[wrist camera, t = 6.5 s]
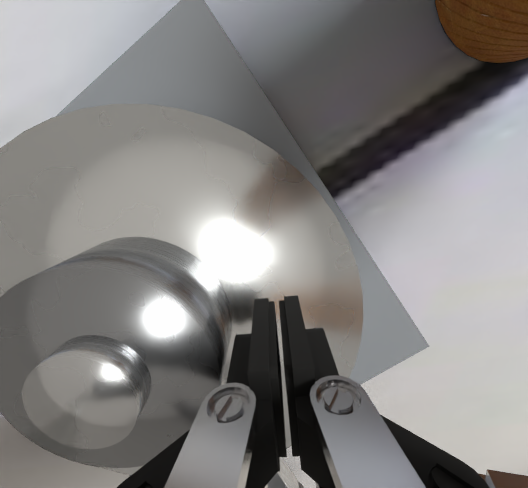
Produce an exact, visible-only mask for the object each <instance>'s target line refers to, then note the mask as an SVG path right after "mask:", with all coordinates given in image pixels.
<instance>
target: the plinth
mask: <svg viewBox="0 0 528 488" xmlns="http://www.w3.org/2000/svg"><path fill="white" fill-rule="evenodd" d="M110 104H151V105H158V106H165V107H172V108H179V109H184V110H187V111H191V112H194V113H198V114H201V115H204V116H208V117H211V118H214V119H217V120H219V121H221V122H224V123H226V124H228V125H230V126H233V127H235V128H237V129H239V130H242V131H244V132H246V133H247V134H249V135H251V136H252V137H254V138H255V139H257V140H259V141H260V142H262V143H264V144H265V145H267V146H269V147H270V148H272V149H273V150H274V151H276V152H277V153H278V154H279V155H281V156H282V157H283V158H284V159H285V160H287V161H288V162H289V163H290V164H292V165H293V166H294V167H295V168H297V169H298V170H299V171H300V172H301V174H302V175H303V176H304V177H305V178H306V179H307V180H308V181H309V182H310V183H311V184H312V185H313V186H314V188H315V189H316V190H317V191H318V192H319V193H320V195H321V196H322V197H323V199H324V200H325V202H326V203H327V204H328V206H329V207H330V209H331V210H332V212H333V213H334V214H335V216H336V218H337V220H338V221H339V223H340V225H341V227H342V229H343V231H344V233H345V235H346V237H347V239H348V241H349V244H350V246H351V249H352V252H353V255H354V258H355V261H356V264H357V267H358V272H359V277H360V282H361V288H362V294H363V326H362V335H361V343H360V346H359V350H358V354H357V358H356V362H355V365H354V367H353V369H352V372H351V374H350V377H349V378H350V379H352V380H354V381H355V382H357V383H358V384H362V383H364V382H366V381H368V380H369V379H371V378H373V377H375V376H377V375H378V374H380V373H382V372H384V371H386V370H387V369H389V368H391V367H393V366H395V365H396V364H398V363H400V362H402V361H404V360H405V359H407V358H409V357H411V356H413V355H414V354H416V353H418V352H420V351H422V350H423V349H425V348H427V347H429V345H428V343H427V342H426V340H425V339H424V337H423V336H422V334H421V333H420V331H419V330H418V328H417V326H416V325H415V323H414V322H413V320H412V319H411V317H410V316H409V314H408V313H407V311H406V310H405V308H404V307H403V305H402V303H401V302H400V300H399V299H398V297H397V296H396V294H395V293H394V291H393V290H392V288H391V287H390V285H389V284H388V282H387V280H386V279H385V277H384V276H383V274H382V273H381V271H380V270H379V268H378V267H377V265H376V264H375V262H374V261H373V259H372V257H371V256H370V254H369V253H368V251H367V250H366V248H365V247H364V245H363V244H362V242H361V241H360V239H359V238H358V236H357V234H356V233H355V231H354V230H353V228H352V227H351V225H350V224H349V222H348V221H347V219H346V218H345V216H344V215H343V213H342V211H341V210H340V208H339V207H338V205H337V204H336V202H335V201H334V199H333V198H332V196H331V195H330V193H329V192H328V190H327V188H326V187H325V185H324V184H323V182H322V181H321V179H320V178H319V176H318V175H317V173H316V172H315V170H314V169H313V167H312V165H311V164H310V162H309V161H308V159H307V158H306V156H305V155H304V153H303V152H302V150H301V149H300V147H299V146H298V144H297V142H296V141H295V139H294V138H293V136H292V135H291V133H290V132H289V130H288V129H287V127H286V126H285V124H284V123H283V121H282V119H281V118H280V116H279V115H278V113H277V112H276V110H275V109H274V107H273V106H272V104H271V103H270V101H269V100H268V98H267V96H266V95H265V93H264V92H263V90H262V89H261V87H260V86H259V84H258V83H257V81H256V80H255V78H254V77H253V75H252V73H251V72H250V70H249V69H248V67H247V66H246V64H245V63H244V61H243V60H242V58H241V57H240V55H239V53H238V52H237V50H236V49H235V47H234V46H233V44H232V43H231V41H230V40H229V38H228V37H227V35H226V34H225V32H224V30H223V29H222V27H221V26H220V24H219V23H218V21H217V20H216V18H215V17H214V15H213V14H212V12H211V11H210V9H209V7H208V6H207V4H206V3H205V1H204V0H181V1H180V2H179V3H178V4H177V5H176V6H175V7H173V8H172V9H171V10H170V11H169V12H168V13H167V14H166V15H165V16H164V17H163V18H162V19H160V20H159V21H158V22H157V23H156V24H155V25H154V26H153V27H152V28H151V29H150V30H149V31H147V32H146V33H145V34H144V35H143V36H142V37H141V38H140V39H139V40H138V41H137V42H136V43H135V44H133V45H132V46H131V47H130V48H129V49H128V50H127V51H126V52H125V53H124V54H123V55H122V56H120V57H119V58H118V59H117V60H116V61H115V62H114V63H113V64H112V65H111V66H110V67H109V68H107V69H106V70H105V71H104V72H103V73H102V74H101V75H100V76H99V77H98V78H97V79H96V80H94V81H93V82H92V83H91V84H90V85H89V86H88V87H87V88H86V89H85V90H84V91H83V92H81V93H80V94H79V95H78V96H77V97H76V98H75V99H74V100H73V101H72V102H71V103H70V104H69V105H67V106H66V107H65V108H64V109H63V110H62V111H61V112H60V113H59V114H58V115H57V116H60V115H63V114H66V113H69V112H73V111H76V110H79V109H83V108H90V107H97V106H103V105H110ZM130 476H131V475H130Z"/></svg>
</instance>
